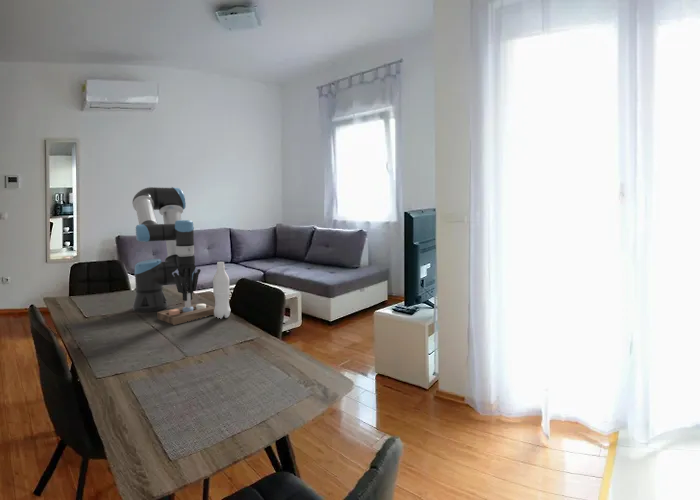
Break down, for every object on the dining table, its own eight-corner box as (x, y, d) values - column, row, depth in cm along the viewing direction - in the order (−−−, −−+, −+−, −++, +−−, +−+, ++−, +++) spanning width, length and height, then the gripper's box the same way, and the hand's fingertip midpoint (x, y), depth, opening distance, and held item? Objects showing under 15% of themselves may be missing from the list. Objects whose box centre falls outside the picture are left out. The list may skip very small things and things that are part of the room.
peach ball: (167, 319, 181) (166, 310, 180) (176, 317, 184) (176, 308, 184) (172, 321, 178) (171, 312, 177) (181, 319, 181) (181, 310, 181)
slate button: (181, 316, 186) (180, 307, 185) (190, 314, 189) (189, 305, 189) (186, 318, 183) (185, 309, 182) (195, 316, 186) (195, 307, 186)
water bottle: (233, 315, 188) (231, 261, 185) (227, 319, 181) (225, 263, 178) (218, 314, 189) (216, 260, 186) (211, 319, 182) (209, 263, 179)
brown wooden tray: (157, 318, 182) (157, 312, 182) (200, 309, 199) (200, 303, 198) (174, 324, 174) (173, 318, 173) (217, 314, 190) (217, 307, 189)
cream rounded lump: (194, 313, 191) (193, 305, 190) (202, 311, 194) (202, 303, 194) (199, 315, 188) (199, 306, 188) (208, 313, 191) (207, 304, 191)
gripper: (175, 257, 175) (178, 311, 178) (203, 254, 185) (205, 305, 188) (167, 256, 180) (169, 308, 183) (194, 253, 190) (196, 303, 193)
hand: (187, 307), depth 185 cm, fingers closed
